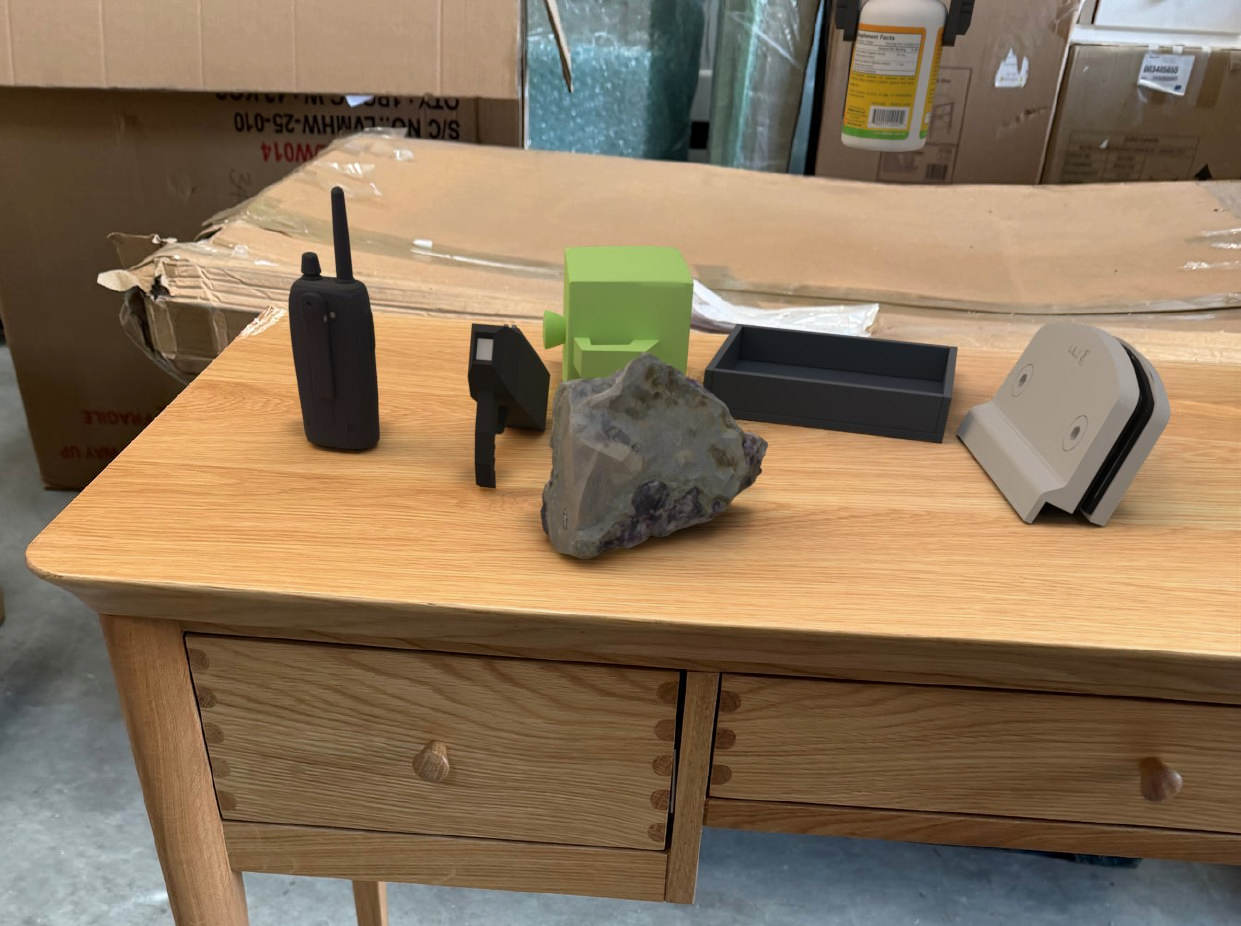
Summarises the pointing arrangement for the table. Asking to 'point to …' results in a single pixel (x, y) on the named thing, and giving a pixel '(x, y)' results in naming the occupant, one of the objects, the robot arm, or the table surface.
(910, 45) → the supplement bottle
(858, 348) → the tray
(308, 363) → the two-way radio
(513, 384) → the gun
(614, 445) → the mineral rock
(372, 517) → the table surface
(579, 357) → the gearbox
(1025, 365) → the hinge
